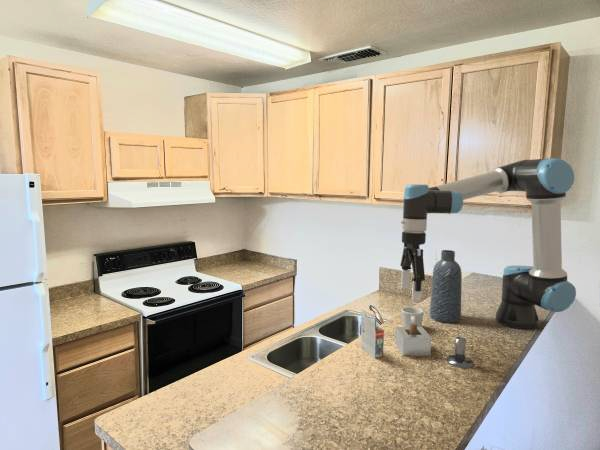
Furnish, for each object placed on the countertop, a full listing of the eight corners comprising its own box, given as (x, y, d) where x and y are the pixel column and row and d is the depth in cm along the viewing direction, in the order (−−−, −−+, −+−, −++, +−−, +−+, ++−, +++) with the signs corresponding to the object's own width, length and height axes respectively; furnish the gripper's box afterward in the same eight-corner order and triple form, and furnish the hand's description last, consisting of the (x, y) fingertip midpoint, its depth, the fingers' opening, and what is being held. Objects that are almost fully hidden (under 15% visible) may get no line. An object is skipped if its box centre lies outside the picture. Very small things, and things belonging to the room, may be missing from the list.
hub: (466, 359, 122) (467, 333, 121) (477, 371, 115) (478, 344, 114) (442, 359, 122) (443, 334, 121) (452, 371, 115) (453, 344, 114)
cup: (424, 338, 138) (425, 317, 137) (401, 336, 140) (402, 315, 139) (421, 327, 149) (422, 307, 148) (400, 325, 150) (400, 305, 149)
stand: (420, 346, 131) (421, 320, 130) (428, 357, 124) (429, 329, 122) (397, 346, 131) (398, 320, 130) (403, 357, 123) (404, 329, 122)
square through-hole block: (421, 343, 132) (422, 326, 131) (430, 355, 123) (431, 337, 122) (395, 343, 132) (396, 326, 131) (402, 355, 123) (403, 337, 122)
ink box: (369, 349, 130) (370, 307, 128) (383, 359, 123) (385, 315, 121) (360, 351, 128) (361, 309, 126) (374, 361, 121) (375, 317, 119)
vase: (431, 311, 166) (434, 247, 163) (461, 315, 161) (464, 249, 158) (427, 320, 156) (430, 252, 152) (460, 325, 150) (463, 255, 147)
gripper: (393, 226, 138) (391, 283, 140) (413, 236, 113) (409, 306, 115) (414, 226, 138) (411, 284, 140) (438, 237, 113) (434, 306, 115)
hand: (410, 294), depth 128 cm, fingers open, 13 cm apart
